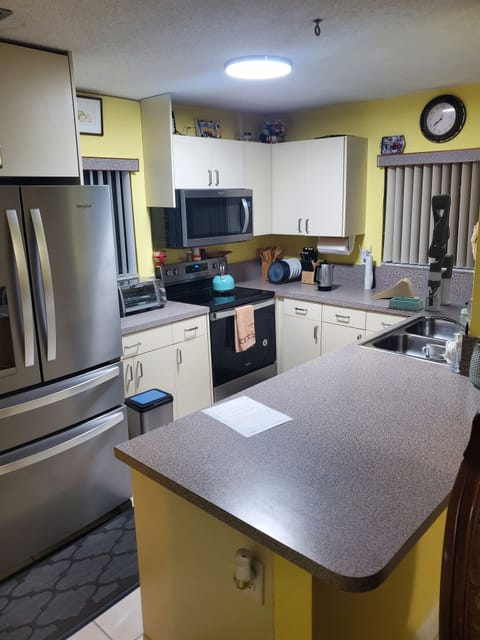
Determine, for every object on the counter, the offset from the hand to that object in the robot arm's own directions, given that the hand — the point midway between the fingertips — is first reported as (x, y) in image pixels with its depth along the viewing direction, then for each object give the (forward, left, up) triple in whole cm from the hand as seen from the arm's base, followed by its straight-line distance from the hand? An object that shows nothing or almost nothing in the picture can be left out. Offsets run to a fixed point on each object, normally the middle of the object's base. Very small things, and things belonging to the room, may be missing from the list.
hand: (432, 305), depth 306 cm
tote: (-1, -16, -3) cm, 16 cm away
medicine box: (0, 0, -4) cm, 4 cm away
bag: (-31, -31, -4) cm, 44 cm away
